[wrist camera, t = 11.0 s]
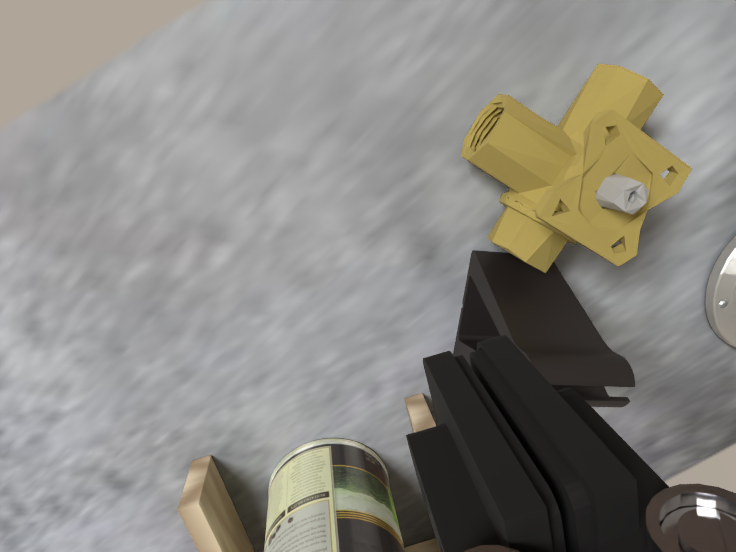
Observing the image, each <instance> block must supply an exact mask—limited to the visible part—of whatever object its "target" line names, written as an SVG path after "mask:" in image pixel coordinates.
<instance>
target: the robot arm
mask: <svg viewBox="0 0 736 552" xmlns="http://www.w3.org/2000/svg"><path fill="white" fill-rule="evenodd" d="M705 306H706V313H707V318H708V320H709V323H710V325H711V328H712V329H713V330H714V332H715V333H716V334H717V336H718V337H719V338H721V339H722V340H723V341H725V342H726V343H727V344H729V345H731V346H733V347H735V348H736V236H735V237H734V238H733V239H732V240H731V241H730V243H729V244H728V245H727V246H726V247H725V249H724V250H723V251H722V253H721V255H720V256H719V258H718V260H717V261H716V263H715V265H714V268H713V270H712V272H711V275H710V277H709V281H708V285H707V289H706V301H705ZM469 357H470V363H471V367H470V365H469V364H468V362H467V361H466V359H465V358H464V356H463V355H460V356H456V357H454V356H453V354H452V353H451V352H450V351H447V352H443V353H440V354H437V355H433V356H430V357H426V358H423V364H424V369H425V373H426V377H427V381H428V385H429V389H430V394H431V398H432V402H433V406H434V410H435V415H436V419H437V423H438V426H435V427H432V428H428V429H425V430H422V431H418V432H415V433H412V434H408V435H406V437H407V441H408V445H409V449H410V452H411V456H412V460H413V463H414V467H415V471H416V474H417V478H418V481H419V485H420V488H421V492H422V495H423V498H424V502H425V505H426V508H427V511H428V515H429V518H430V521H431V524H432V527H433V531H434V534H435V537H436V540H437V543H438V546H439V550H440V552H736V493H733V492H730V491H728V490H725V489H722V488H719V487H714V486H708V485H702V484H679V485H676V486H672V487H669V486H668V485H667V484H666V483H665V482H664V481H663V480H662V479H661V478H660V477H659V476H658V475H657V474H656V473H655V472H654V471H653V470H652V469H651V468H650V467H649V466H648V465H647V464H646V463H645V462H644V461H643V460H642V459H641V458H640V457H639V456H638V454H637V453H636V452H635V451H634V450H633V449H632V448H631V447H630V446H629V445H628V444H627V443H626V442H625V441H624V440H623V439H622V438H621V437H620V436H619V435H618V434H617V433H616V432H615V431H614V430H613V429H612V428H611V427H610V426H609V425H608V424H607V423H606V422H605V421H604V419H603V418H602V417H601V416H600V415H599V414H598V413H597V412H596V411H595V410H594V409H593V408H592V407H591V406H590V405H589V404H588V403H587V402H586V401H585V400H584V399H583V398H582V397H581V396H580V395H579V394H578V393H577V392H576V391H575V390H573V389H572V388H569V387H567V388H563V389H560V390H557V391H556V390H555V389H554V388H553V387H552V386H551V384H550V383H549V382H548V381H547V380H546V379H545V378H544V377H543V376H542V374H541V373H540V372H539V371H538V370H537V369H536V368H535V367H534V366H533V364H532V363H531V362H530V361H529V360H528V359H527V358H526V357H525V356H524V355H523V353H522V352H521V351H520V350H519V349H518V348H517V347H516V346H515V345H514V343H513V342H512V341H511V340H510V339H509V338H508V337H507V336H506V335H502V336H499V337H495V338H492V339H488V340H485V341H481V342H478V343H477V351H473V352H470V354H469Z"/></svg>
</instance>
